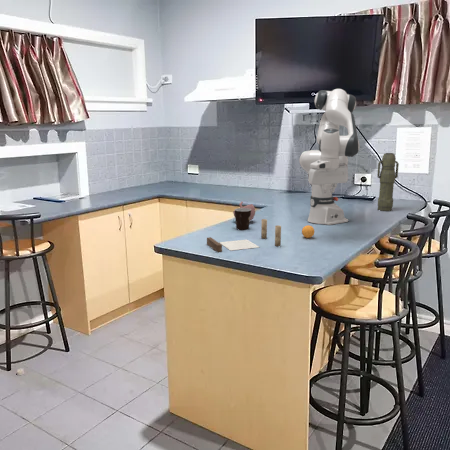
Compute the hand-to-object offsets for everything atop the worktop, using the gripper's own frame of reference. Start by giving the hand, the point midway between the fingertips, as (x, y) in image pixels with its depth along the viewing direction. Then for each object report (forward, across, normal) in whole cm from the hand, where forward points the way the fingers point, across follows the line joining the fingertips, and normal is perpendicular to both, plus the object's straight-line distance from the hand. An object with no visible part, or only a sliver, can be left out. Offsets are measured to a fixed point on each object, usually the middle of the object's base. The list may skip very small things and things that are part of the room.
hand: (327, 193), depth 223 cm
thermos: (+21, -70, -41) cm, 84 cm away
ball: (+18, +10, 0) cm, 21 cm away
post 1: (+21, +30, -7) cm, 37 cm away
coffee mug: (+21, +33, -28) cm, 48 cm away
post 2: (+21, +30, +7) cm, 37 cm away
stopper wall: (+21, +58, 0) cm, 62 cm away
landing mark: (+21, +46, 0) cm, 51 cm away
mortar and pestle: (+21, +25, -42) cm, 53 cm away
